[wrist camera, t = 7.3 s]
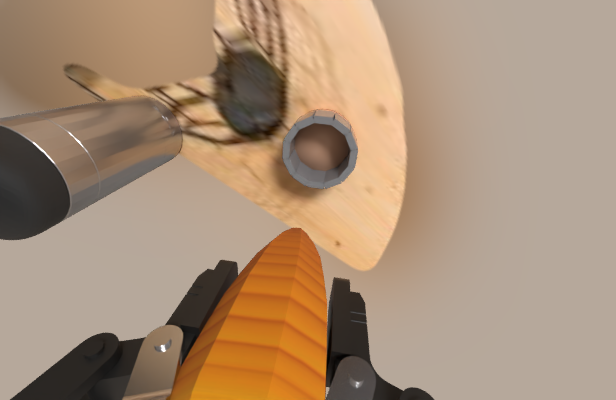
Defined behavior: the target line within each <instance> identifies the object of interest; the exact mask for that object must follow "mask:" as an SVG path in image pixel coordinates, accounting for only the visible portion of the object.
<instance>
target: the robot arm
mask: <svg viewBox="0 0 616 400" xmlns="http://www.w3.org/2000/svg"><path fill="white" fill-rule="evenodd" d="M181 146H182V133H181V129H180V126H179V123H178V122H177V120H176V118H175V116H174V115H173V114H172V112H171V111H170V110H169V109H168V108H167V107H166V106H165V105H163V104H162V103H160V102H159V101H157V100H155V99H153V98H151V97H146V96H133V97H127V98H121V99H114V100H107V101H101V102H95V103H90V104H84V105H77V106H71V107H65V108H58V109H52V110H46V111H40V112H34V113H28V114H22V115H16V116H11V117H4V118H0V239H3V240H20V239H26V238H29V237H32V236H35V235H37V234H40V233H42V232H44V231H46V230H47V229H49V228H51V227H52V226H54V225H56V224H58V223H60V222H61V221H63V220H65V219H67V218H69V217H70V216H72V215H74V214H76V213H77V212H79V211H81V210H83V209H84V208H86V207H88V206H89V205H91V204H93V203H95V202H97V201H98V200H100V199H102V198H104V197H105V196H107V195H109V194H111V193H112V192H114V191H116V190H118V189H120V188H121V187H123V186H125V185H127V184H128V183H130V182H132V181H134V180H136V179H137V178H139V177H141V176H142V175H144V174H146V173H148V172H150V171H152V170H154V169H155V168H157V167H159V166H161V165H162V164H164V163H166V162H168V161H170V160H171V159H173V158H174V157H175V156H177V154H178V153H179V151H180V149H181ZM237 277H238V267H237V263H236V262H232V261H225V260H220V261H219V263H218V265H217V266H216V268H215V269H214V270H211V269H207V270H206V271H205V272H203V273H202V274H201V275H199V276H198V277H197V279H196V281H195V282H194V283H193V285H192V287H191V288H190V289H189V291H188V292H187V295H185V297H184V298H183V300H182V301H181V303H180V304H179V306H178V307H177V309H176V310H175V312H174V313H173V314H172V316H171V317H170V319H169V320H168V322H167V323H166V325H165V326H161V327H159V328H157V329H155V330H153V331H152V332H151V333H150V334H148V335H147V337H145V338H140V339H133V340H126V341H119V340H118V338H117V337H116V335H114V334H112V333H101V334H97V335H94V336H92V337H90V338H88V339H87V340H85V341H83V342H82V343H81V344H80V345H78V346H77V347H76V348H74V349H73V350H72V351H71V352H70V353H68V354H67V355H66V356H64V357H63V358H62V359H61V360H60V361H58V362H57V363H56V364H54V365H53V366H52V367H51V368H49V369H48V370H47V371H46V372H44V374H42V375H41V376H39V377H38V378H37V379H36V380H34V381H33V382H32V383H31V384H29V385H28V386H27V387H26V388H24V389H23V390H22V391H21V392H19V393H18V394H17V395H16V396H14V397H13V398H12V399H10V400H170V398H171V395H172V391H173V388H174V385H175V383H176V380H177V377H178V374H179V371H180V368H181V366H182V364H183V363H184V361H185V359H186V357H187V356H188V354H189V352H190V350H191V348H192V347H193V345H194V343H195V341H196V340H197V338H198V336H199V334H200V333H201V331H202V330H203V328H204V326H205V324H206V323H207V321H208V319H209V318H210V316H211V315H212V313H213V311H214V310H215V308H216V306H217V305H218V303H219V301H220V300H221V298H222V296H223V295H224V293H225V292H226V291H227V290H228V288H229V287H230V286H231V284H232V283H233V282H234V281H235V279H236V278H237ZM366 322H367V321H366V310H365V302H364V300H363V298H362V297H361V295H360V293H356V292H350V282H349V280H347V279H341V278H335V277H334V279H333V285H332V291H331V295H330V301H329V309H328V325H327V359H326V387H330V389H329V392H328V394H327V397H326V400H434V399H433V398H432V397H431V396H430V395H429V394H428V393H426V392H425V391H423V390H421V389H419V388H407V389H405V390H404V391H403V390H401V389H399V388H397V387H395V386H393V385H391V384H389V383H388V382H386V381H385V380H383V379H382V378H381V377H380V376H379V375H378V374H377V373H376V371H375V370H374V368H373V366H372V364H371V361H370V355H369V343H368V332H367V324H366Z"/></svg>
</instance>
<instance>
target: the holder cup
mask: <svg viewBox="0 0 616 400" xmlns="http://www.w3.org/2000/svg"><path fill="white" fill-rule="evenodd" d="M357 154H358V146H357V140H356V137H355V134H354V131H353V128H352V126H351V124H350V123H349V122H348V121H347V119H346V118H345V117H343V116H342V115H341V114H339V113H337V112H335V111H332V110H328V109H317V110H313V111H310V112H308V113H306V114H305V115H303V116H301V117H300V118H299V119H298V120H297V121H296V123H295V124H294V125H293V127H292V128H291V130H290V131H289V133H288V134H287V136H286V137H285V139H284V141H283V157H282V159H283V162H284V164H285V165H286V167H287V169H288V171H289V173H290V175H292V177H293V178H294V179H296V180H297V181H299V182H300V183H302V184H303V185H304V186H306V185H307V187H312V188H319V189H324V187H325V189H327V188H329V187H332V186H335V185H338V184H340V183H341V181H342V182H343V181H344V180H345V179H346V178H347V177H348V176H349V175H350V173H351V172H352V171H353V170H354V168H355V164H356V159H357Z"/></svg>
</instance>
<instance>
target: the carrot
mask: <svg viewBox="0 0 616 400" xmlns="http://www.w3.org/2000/svg"><path fill="white" fill-rule="evenodd" d="M326 359H327V299H326V291H325V283H324V276H323V270H322V264H321V259H320V256H319V254H318V251H317V249H316V247H315V245H314V243H313V242H312V240H311V239H310V238H309V236H308V235H307V233H306V232H304V231H303V230H302V229H301V228H291V229H289V230H286V231H284V232H282V233H281V234H280V235H279V236H277V237H276V238H275V239H274V240H272V241H271V242H270V243H269V244H268V245H266V246H265V247H264V248H263V249H262V250H261V251H259V252H258V253H257V254H256V255H255V257H254V258H253V259H252V260H251V261H250V262H249V263H248V265H247V266H246V267H245V268H244V269H243V270H242V272H241V273H240V274H239V275H238V277H237V278H236V279H235V281H234V282H233V283H232V284H231V286H230V287H229V288H228V290H227V291H226V292H225V293H224V295H223V296H222V298H221V300H220V301H219V303H218V305H217V306H216V308H215V310H214V311H213V313H212V315H211V316H210V318H209V319H208V321H207V323H206V324H205V326H204V328H203V330H202V331H201V333H200V334H199V336H198V338H197V340H196V341H195V343H194V345H193V347H192V348H191V350H190V352H189V354H188V356H187V357H186V359H185V361H184V363H183V364H182V366H181V368H180V371H179V374H178V377H177V380H176V383H175V385H174V388H173V391H172V395H171V398H170V400H325V394H326V393H325V392H326Z"/></svg>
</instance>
